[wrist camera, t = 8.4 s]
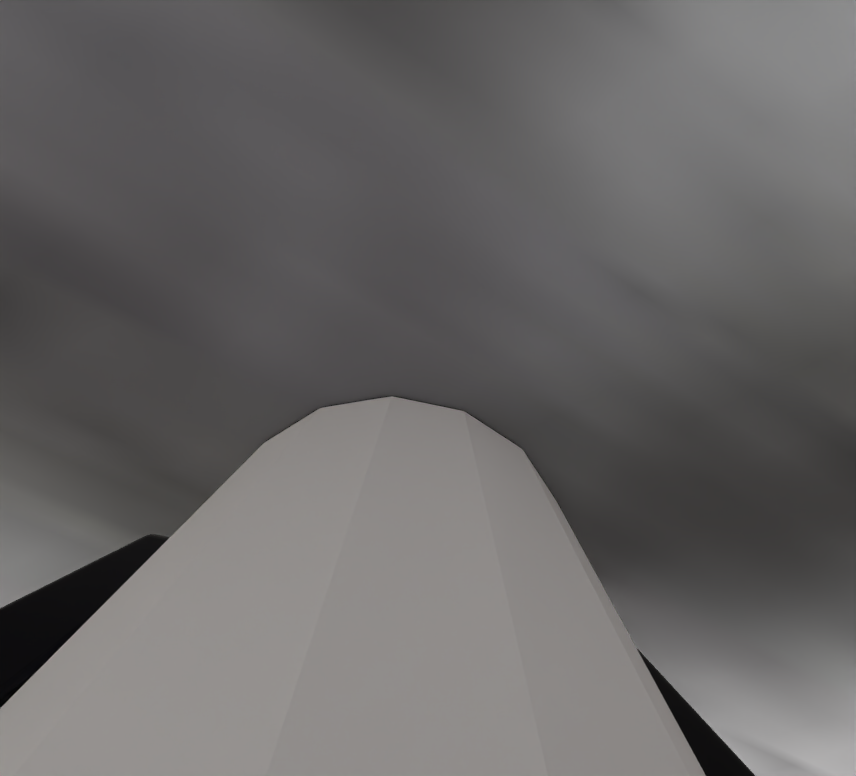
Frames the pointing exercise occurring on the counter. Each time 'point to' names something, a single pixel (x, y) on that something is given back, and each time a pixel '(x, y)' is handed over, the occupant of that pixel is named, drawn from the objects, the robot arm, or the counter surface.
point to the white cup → (356, 626)
